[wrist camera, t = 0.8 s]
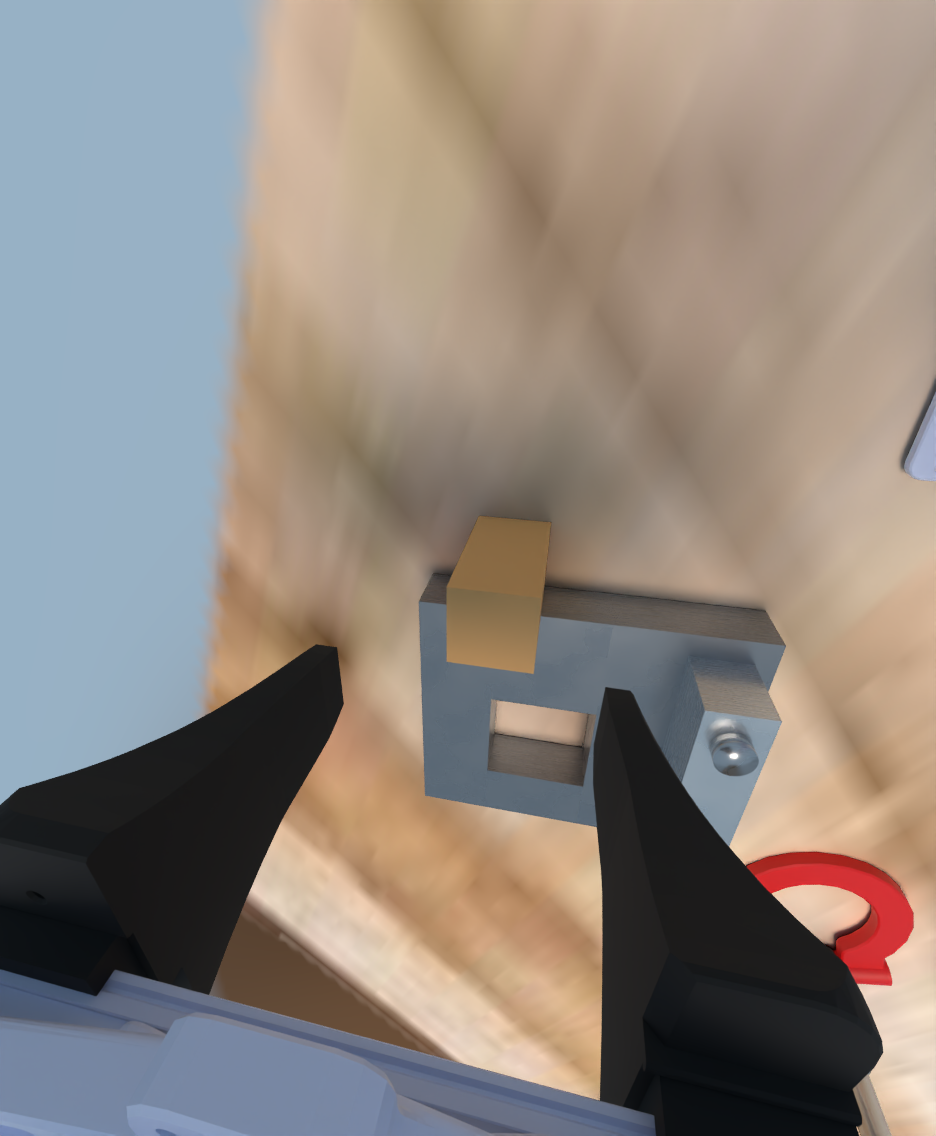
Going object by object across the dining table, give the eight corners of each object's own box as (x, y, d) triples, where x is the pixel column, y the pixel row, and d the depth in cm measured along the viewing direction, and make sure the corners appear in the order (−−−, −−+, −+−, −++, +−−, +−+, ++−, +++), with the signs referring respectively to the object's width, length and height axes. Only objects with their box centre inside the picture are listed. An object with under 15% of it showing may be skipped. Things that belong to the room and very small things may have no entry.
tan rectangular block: (550, 522, 21) (541, 598, 16) (544, 585, 22) (533, 673, 17) (478, 515, 21) (446, 586, 16) (476, 577, 23) (446, 661, 18)
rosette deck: (765, 610, 21) (826, 716, 16) (697, 804, 27) (725, 927, 21) (433, 573, 23) (390, 654, 18) (436, 759, 29) (404, 861, 24)
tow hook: (712, 843, 29) (727, 953, 32) (810, 1237, 16) (816, 1342, 20) (905, 842, 26) (897, 961, 30) (1197, 1309, 14) (1122, 1416, 17)
